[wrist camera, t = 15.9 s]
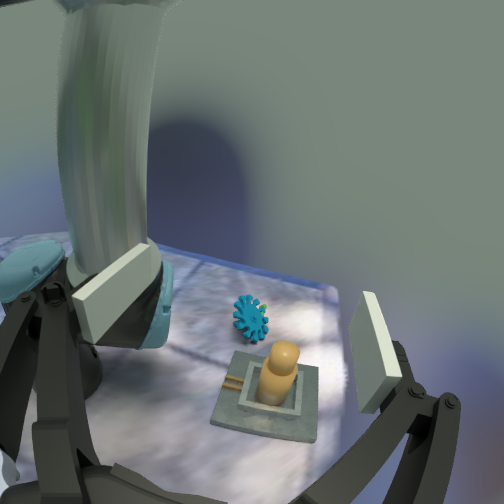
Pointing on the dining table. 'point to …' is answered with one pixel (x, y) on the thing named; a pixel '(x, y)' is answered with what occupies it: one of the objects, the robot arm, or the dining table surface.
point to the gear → (251, 317)
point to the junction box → (263, 415)
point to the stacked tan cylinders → (278, 373)
